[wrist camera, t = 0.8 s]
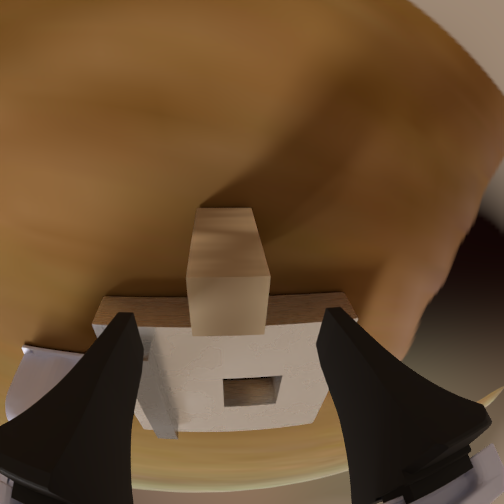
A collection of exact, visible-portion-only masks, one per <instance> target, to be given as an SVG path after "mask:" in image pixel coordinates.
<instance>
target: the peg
mask: <svg viewBox="0 0 504 504" xmlns="http://www.w3.org/2000/svg"><path fill="white" fill-rule="evenodd" d="M270 278H271V275H270V272H269V268H268V265H267V261H266V258H265V254H264V251H263V247H262V243H261V240H260V236H259V233H258V229H257V226H256V222H255V219H254V215H253V212H252V208H197V210H196V216H195V222H194V228H193V234H192V240H191V247H190V253H189V260H188V266H187V273H186V283H187V294H188V303H189V312H190V321H191V329H192V336H240V335H263V334H264V333H265V324H266V315H267V306H268V297H269V288H270Z"/></svg>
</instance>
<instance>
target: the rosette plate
mask: <svg viewBox="0 0 504 504" xmlns="http://www.w3.org/2000/svg"><path fill="white" fill-rule="evenodd" d="M332 307H341V308H342V309H343V310H344V311H345V312H346V313H347V314H349V315H350V316H351V317H352V318H353V319H354V320H355V321H356V322H357V321H358V317H357V315H356V313H355V311H354V309H353V307H352V306H351V304H350V302H349V300H348V299H347V297H346V295H345V293H344V292H336V293H319V294H300V295H277V296H269V297H268V306H267V315H266V324H265V333H264V334H263V335H240V336H192V329H191V321H190V312H189V303H188V297H110V296H103V299H102V301H101V303H100V305H99V308H98V310H97V312H96V315H95V317H94V319H93V322H92V327H93V329H94V332H95V334H96V336H97V338H98V337H99V336H100V334H101V333H102V332H103V331H104V329H105V328H106V327H107V326H108V324H109V323H110V322H111V320H112V319H113V318H114V317H115V315H116V314H117V313H118V312H134V316H135V320H136V323H137V327H138V330H139V334H140V337H141V341H142V344H143V347H144V356H143V367H142V375H141V380H140V384H139V389H138V394H137V399H136V405H135V410H134V413H135V415H136V417H137V419H138V420H139V422H140V424H141V425H142V427H143V428H144V429H149V430H154V432H155V434H156V435H157V437H158V438H165V439H178V431H184V432H224V431H245V430H259V429H270V428H280V427H288V426H296V425H303V424H309V423H313V421H314V419H315V417H316V415H317V413H318V411H319V409H320V407H321V405H322V403H323V401H324V399H325V397H326V395H327V393H328V390H329V388H328V385H327V383H326V380H325V377H324V374H323V371H322V369H321V366H320V361H319V357H318V352H317V348H316V341H317V338H318V334H319V331H320V327H321V324H322V320H323V317H324V313H325V309H326V308H332ZM268 376H271V378H263V379H247V380H223V379H233V378H254V377H268Z"/></svg>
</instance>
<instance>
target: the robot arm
mask: <svg viewBox="0 0 504 504" xmlns="http://www.w3.org/2000/svg"><path fill="white" fill-rule="evenodd" d="M316 348H317V352H318V357H319V361H320V366H321V369H322V371H323V374H324V377H325V380H326V383H327V385H328V388H329V391H330V393H331V396H332V399H333V402H334V404H335V407H336V410H337V413H338V416H339V419H340V424H341V428H342V433H343V437H344V442H345V448H346V453H347V459H348V466H349V474H350V484H351V499H352V504H377V503H379V502H382V501H383V504H491V503H492V502H493V501H494V500H495V499H496V498H497V497H499V496H500V495H501V494H502V493H503V492H504V466H503V464H502V462H501V459H500V457H499V455H498V453H497V451H496V449H495V447H494V444H493V443H491V444H490V445H489V446H487V447H486V448H484V449H483V450H481V451H480V452H478V453H477V454H475V455H474V456H472V457H471V458H469V456H468V453H469V452H471V448H470V446H469V444H470V443H471V442H472V441H474V440H475V439H476V438H477V437H478V436H480V435H481V434H482V433H483V432H484V431H485V430H486V429H488V428H489V426H490V425H491V423H492V421H491V418H490V417H489V415H488V413H487V411H486V409H485V407H484V406H483V405H482V404H479V403H476V402H474V401H471V400H468V399H465V398H462V397H460V396H458V395H455V394H453V393H451V392H449V391H447V390H445V389H443V388H441V387H439V386H437V385H436V384H434V383H432V382H430V381H429V380H427V379H425V378H424V377H422V376H421V375H419V374H417V373H416V372H415V371H413V370H412V369H410V368H409V367H407V366H406V365H405V364H403V363H402V362H401V361H399V360H398V359H397V358H396V357H394V356H393V355H392V354H391V353H390V352H388V351H387V350H386V349H385V348H384V347H383V346H381V345H380V344H379V343H378V342H377V341H376V340H375V339H374V338H373V337H371V336H370V335H369V334H368V333H367V332H366V331H365V330H364V329H363V328H362V327H361V326H360V325H359V324H358V323H357V322H356V321H355V320H354V319H353V318H352V317H351V316H350V315H349V314H347V313H346V312H345V311H344V310H343V309H342V308H341V307H332V308H326V309H325V313H324V317H323V320H322V324H321V327H320V331H319V334H318V338H317V341H316ZM22 350H23V352H24V356H23V358H22V360H21V363H20V365H19V367H18V369H17V371H16V374H15V376H14V378H13V381H12V383H11V385H10V388H9V390H8V393H7V396H6V404H5V407H6V415H7V418H8V422H7V423H5V424H3V425H1V426H0V504H133V496H132V485H131V429H132V421H133V415H134V410H135V405H136V399H137V394H138V389H139V384H140V380H141V375H142V367H143V356H144V347H143V344H142V341H141V337H140V334H139V330H138V327H137V323H136V320H135V316H134V312H118V313H117V314H116V315H115V317H114V318H113V319H112V320H111V322H110V323H109V324H108V326H107V327H106V328H105V329H104V331H103V332H102V333H101V334H100V336H99V337H98V338H97V340H96V341H95V342H94V343H93V344H92V346H91V347H90V348H89V349H88V351H87V352H86V353H85V354H80V353H72V352H65V351H58V350H51V349H45V348H39V347H33V346H27V345H23V346H22Z"/></svg>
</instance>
